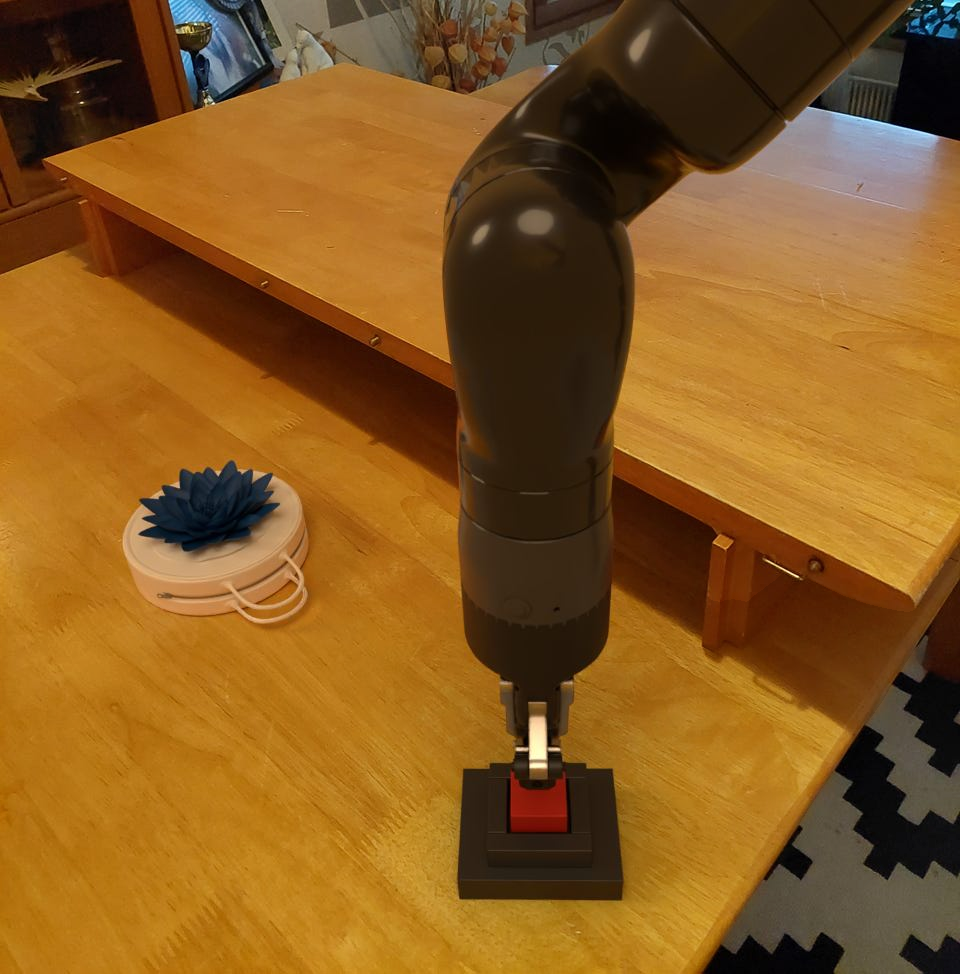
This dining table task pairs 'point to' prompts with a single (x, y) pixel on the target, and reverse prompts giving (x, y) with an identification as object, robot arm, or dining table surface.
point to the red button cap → (538, 808)
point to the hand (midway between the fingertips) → (537, 777)
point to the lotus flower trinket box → (218, 543)
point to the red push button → (539, 841)
